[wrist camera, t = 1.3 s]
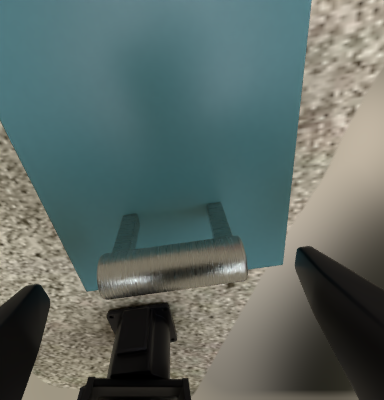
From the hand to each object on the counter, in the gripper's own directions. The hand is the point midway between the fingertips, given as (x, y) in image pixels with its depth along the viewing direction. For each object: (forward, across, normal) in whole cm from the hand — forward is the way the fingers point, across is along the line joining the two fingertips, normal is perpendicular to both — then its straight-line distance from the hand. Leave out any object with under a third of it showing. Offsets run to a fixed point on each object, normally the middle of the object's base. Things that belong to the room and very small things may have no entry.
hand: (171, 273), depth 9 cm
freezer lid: (+4, 0, -2) cm, 5 cm away
